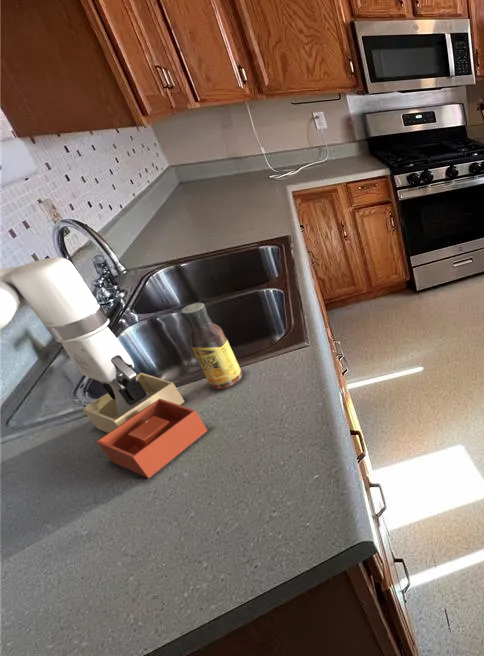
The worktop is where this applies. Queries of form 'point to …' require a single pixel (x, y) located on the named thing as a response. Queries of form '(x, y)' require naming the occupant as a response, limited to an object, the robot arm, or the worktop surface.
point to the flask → (120, 402)
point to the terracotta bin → (163, 447)
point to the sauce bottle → (211, 348)
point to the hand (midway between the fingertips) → (129, 396)
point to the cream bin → (106, 410)
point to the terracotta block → (149, 431)
